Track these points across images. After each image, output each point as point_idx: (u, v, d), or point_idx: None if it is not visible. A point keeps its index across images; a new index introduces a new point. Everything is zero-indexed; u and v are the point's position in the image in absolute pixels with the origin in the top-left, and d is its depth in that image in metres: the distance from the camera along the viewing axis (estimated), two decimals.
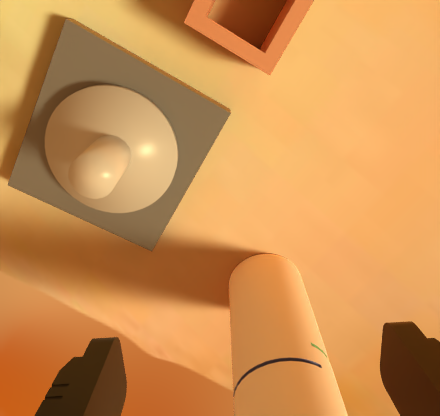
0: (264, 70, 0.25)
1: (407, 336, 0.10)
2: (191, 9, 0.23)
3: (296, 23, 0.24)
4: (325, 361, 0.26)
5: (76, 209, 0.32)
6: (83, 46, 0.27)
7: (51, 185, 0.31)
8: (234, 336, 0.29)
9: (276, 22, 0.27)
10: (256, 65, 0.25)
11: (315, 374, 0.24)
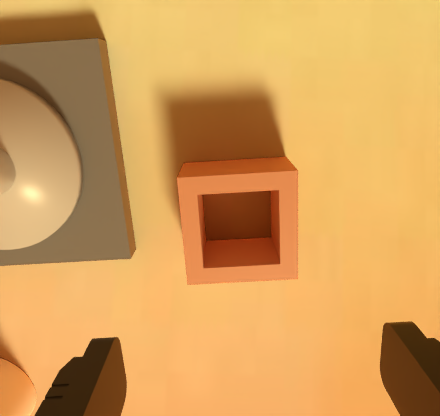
0: (188, 277, 0.22)
1: (407, 336, 0.10)
2: (193, 178, 0.20)
3: (246, 278, 0.22)
4: None
5: None
6: (83, 73, 0.21)
7: None
8: None
9: (237, 245, 0.25)
10: (187, 267, 0.22)
11: None
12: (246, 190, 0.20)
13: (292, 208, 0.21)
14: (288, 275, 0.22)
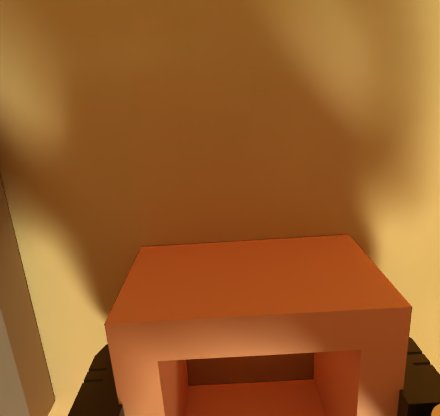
0: None
1: None
2: (147, 325, 0.08)
3: None
4: None
5: None
6: None
7: None
8: None
9: (250, 406, 0.12)
10: None
11: None
12: (279, 351, 0.08)
13: (390, 388, 0.09)
14: None
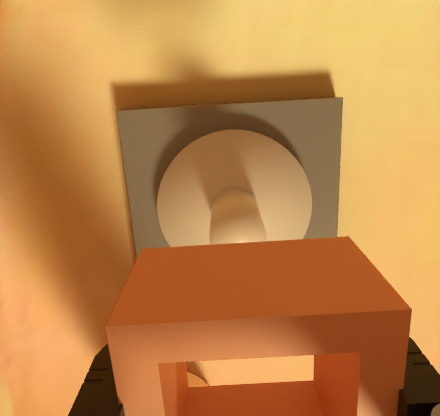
0: None
1: None
2: (147, 327, 0.08)
3: None
4: None
5: (138, 198, 0.25)
6: (324, 126, 0.24)
7: (149, 159, 0.25)
8: None
9: (250, 408, 0.12)
10: None
11: None
12: (280, 353, 0.08)
13: (389, 390, 0.09)
14: None
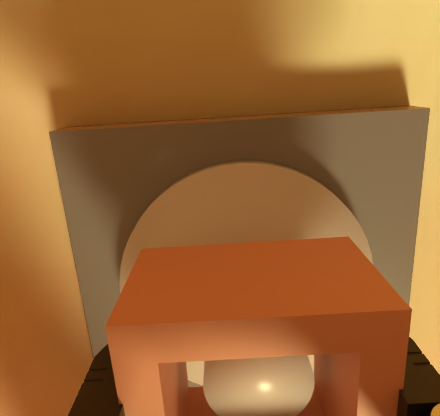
0: None
1: None
2: (147, 327, 0.08)
3: None
4: None
5: (91, 269, 0.16)
6: (396, 155, 0.14)
7: (107, 209, 0.15)
8: None
9: None
10: None
11: None
12: (280, 354, 0.08)
13: (389, 390, 0.09)
14: None
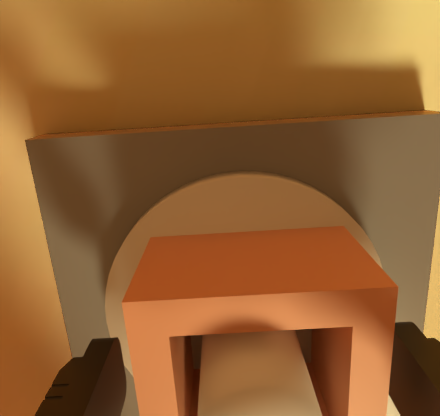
0: None
1: (407, 336, 0.10)
2: (159, 303, 0.09)
3: None
4: None
5: (74, 290, 0.14)
6: (411, 166, 0.13)
7: (91, 225, 0.14)
8: None
9: None
10: None
11: None
12: (279, 327, 0.09)
13: (379, 362, 0.09)
14: None
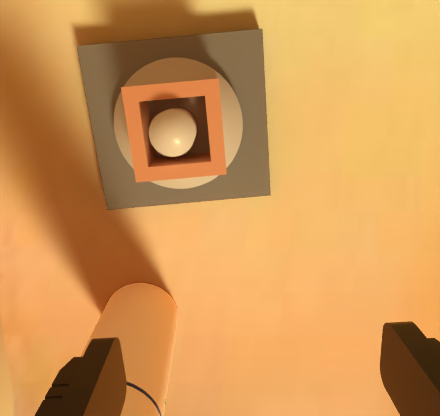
0: (136, 175, 0.27)
1: (407, 336, 0.10)
2: (134, 87, 0.25)
3: (184, 174, 0.27)
4: None
5: (99, 122, 0.30)
6: (249, 54, 0.29)
7: (106, 87, 0.29)
8: (107, 337, 0.29)
9: (181, 157, 0.29)
10: (134, 167, 0.26)
11: None
12: (178, 96, 0.25)
13: (217, 111, 0.25)
14: (218, 171, 0.27)
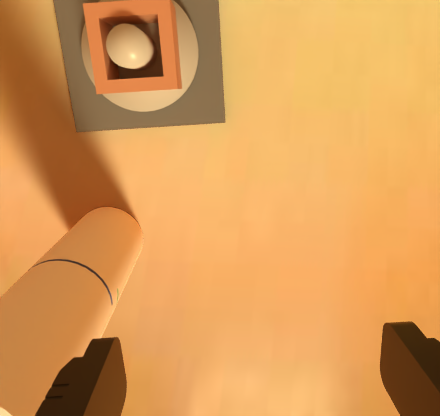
0: (96, 87, 0.30)
1: (407, 336, 0.10)
2: (94, 3, 0.28)
3: (139, 88, 0.30)
4: (114, 306, 0.30)
5: (69, 47, 0.33)
6: None
7: (76, 14, 0.33)
8: (69, 237, 0.32)
9: None
10: (95, 79, 0.30)
11: (107, 303, 0.28)
12: (133, 13, 0.28)
13: (168, 29, 0.28)
14: (170, 86, 0.30)
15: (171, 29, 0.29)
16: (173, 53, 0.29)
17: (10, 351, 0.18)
